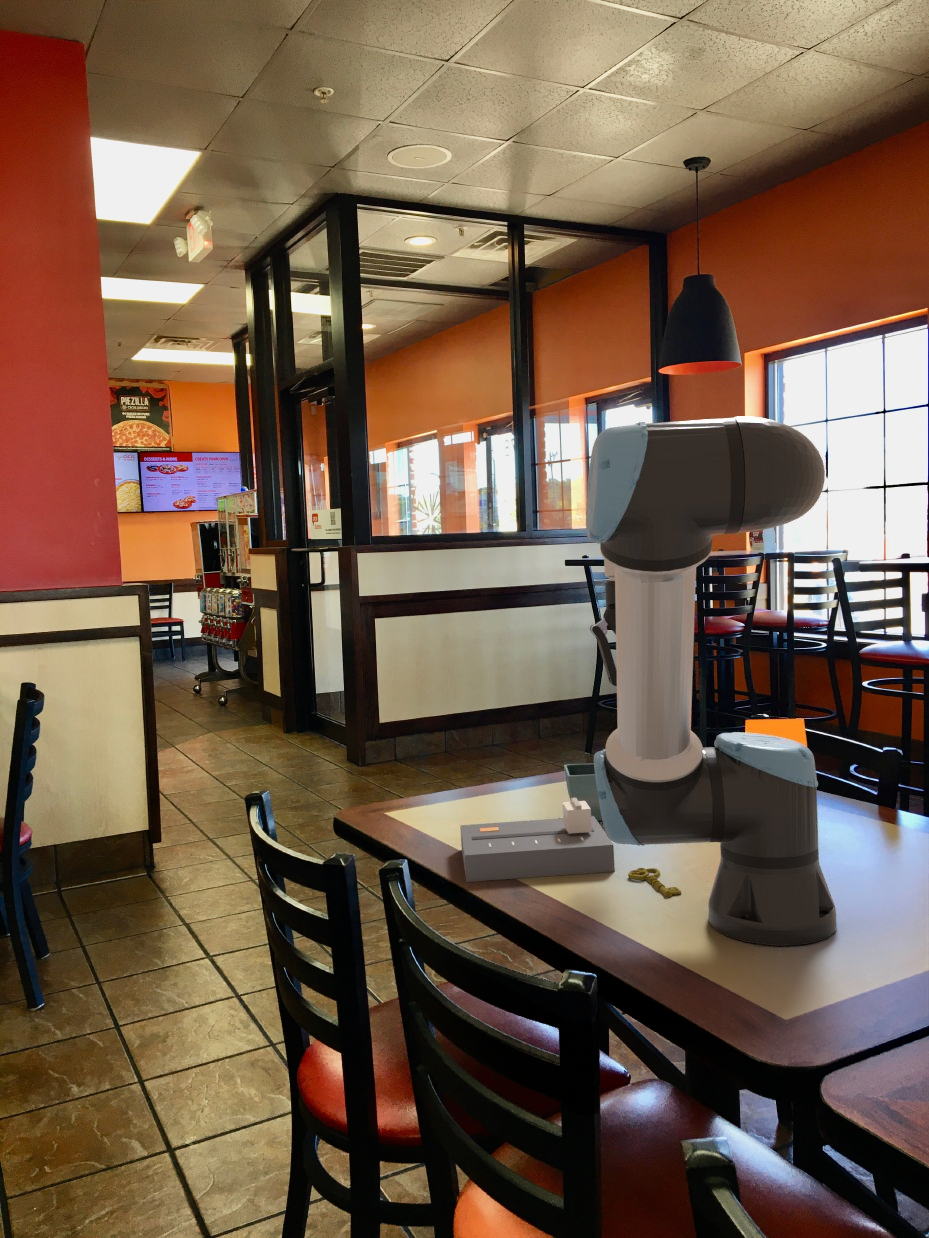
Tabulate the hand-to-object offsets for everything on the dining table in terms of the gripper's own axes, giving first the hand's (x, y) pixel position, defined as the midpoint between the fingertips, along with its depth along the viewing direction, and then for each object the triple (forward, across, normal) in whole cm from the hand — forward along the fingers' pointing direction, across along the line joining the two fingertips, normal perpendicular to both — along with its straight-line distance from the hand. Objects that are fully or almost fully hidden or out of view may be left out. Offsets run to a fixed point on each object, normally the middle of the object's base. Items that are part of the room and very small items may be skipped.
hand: (636, 729), depth 148 cm
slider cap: (+15, +10, 0) cm, 18 cm away
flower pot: (+20, +4, -21) cm, 29 cm away
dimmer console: (+19, +17, 0) cm, 26 cm away
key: (+20, +2, +14) cm, 25 cm away
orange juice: (+20, -21, +2) cm, 29 cm away
